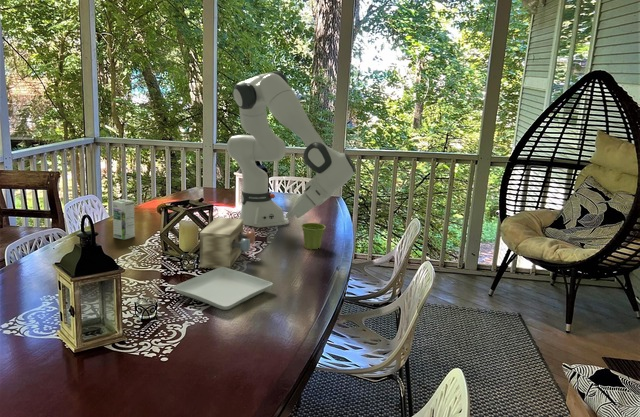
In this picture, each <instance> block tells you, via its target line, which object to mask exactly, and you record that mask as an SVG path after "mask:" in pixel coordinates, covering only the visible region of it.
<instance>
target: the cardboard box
mask: <svg viewBox="0 0 640 417" xmlns="http://www.w3.org/2000/svg"><path fill="white" fill-rule="evenodd" d="M239 234H244V225H243V219H239V218H227V217H215V218H214V219H213V220H212V221H211V222H210V223H209V224H207V225H206V227H204V228H203V229H202V230H201V231H200V232H199V267H200V268H204V269H205V268H207V269H217V268H220V267H226V268H229V269H232V267H233V265H234V264H235V262H236V261H237V260H238V258H239V257H240V255H241V254H242V253H243V252H242V251H241V250H240V248H236V247H232V242H233V241H236V242H241V240H238V235H239Z"/></svg>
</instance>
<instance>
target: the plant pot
mask: <svg viewBox="0 0 640 417" xmlns="http://www.w3.org/2000/svg"><path fill="white" fill-rule="evenodd" d="M301 228H302V231H303V246H304V248H305V249H307V250H311V249H314V250H319V249H321V245H322V240H323V235H324V232H325V229H326V228H327V227H326V225H324V224H321V223H318V222H317V223H316V222H306V223H303V224H301ZM318 248H319V249H318Z"/></svg>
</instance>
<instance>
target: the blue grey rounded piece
mask: <svg viewBox="0 0 640 417" xmlns="http://www.w3.org/2000/svg"><path fill="white" fill-rule="evenodd" d="M232 247H236V248H240V250H241V251H242V252H241V253H245V252H246V253H249V252H250V248H251V244H250V239H243V238H242V240H241V242H236V241H233V242H232Z"/></svg>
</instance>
